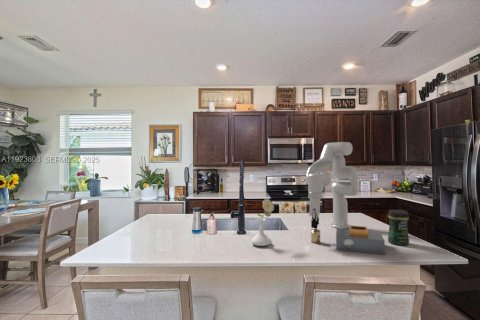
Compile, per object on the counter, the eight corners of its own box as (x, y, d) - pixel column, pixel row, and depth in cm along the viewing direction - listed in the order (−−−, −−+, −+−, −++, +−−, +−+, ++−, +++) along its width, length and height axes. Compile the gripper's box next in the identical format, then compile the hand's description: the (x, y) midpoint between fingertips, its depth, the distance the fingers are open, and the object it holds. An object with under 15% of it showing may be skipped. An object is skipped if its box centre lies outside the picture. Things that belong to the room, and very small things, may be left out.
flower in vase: (254, 248, 134) (254, 201, 134) (248, 242, 145) (248, 198, 145) (277, 246, 137) (277, 199, 137) (269, 240, 148) (269, 197, 148)
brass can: (311, 240, 147) (311, 226, 147) (320, 241, 145) (320, 227, 145) (310, 243, 142) (310, 228, 143) (320, 244, 141) (319, 229, 141)
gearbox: (336, 239, 148) (336, 222, 148) (379, 244, 140) (379, 225, 140) (336, 250, 131) (336, 230, 131) (385, 255, 123) (384, 234, 123)
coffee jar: (394, 245, 137) (394, 211, 137) (385, 241, 145) (385, 208, 145) (412, 245, 137) (411, 211, 138) (402, 241, 145) (401, 208, 146)
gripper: (310, 193, 154) (310, 222, 153) (306, 196, 138) (306, 228, 137) (323, 194, 151) (323, 223, 150) (321, 197, 135) (321, 230, 134)
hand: (315, 226), depth 144 cm, fingers open, 9 cm apart
